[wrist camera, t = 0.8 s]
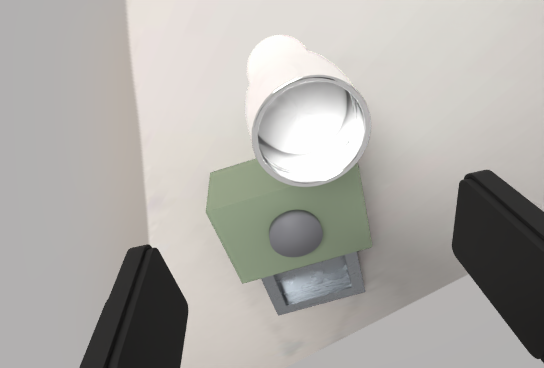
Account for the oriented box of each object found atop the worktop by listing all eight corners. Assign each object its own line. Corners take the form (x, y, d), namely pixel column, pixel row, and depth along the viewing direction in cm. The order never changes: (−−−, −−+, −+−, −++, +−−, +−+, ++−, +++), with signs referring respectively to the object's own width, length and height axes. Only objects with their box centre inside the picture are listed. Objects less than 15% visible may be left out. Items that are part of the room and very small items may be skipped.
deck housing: (337, 133, 35) (362, 171, 28) (352, 210, 40) (376, 257, 33) (210, 172, 36) (204, 218, 29) (242, 242, 41) (244, 294, 34)
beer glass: (287, 10, 28) (331, 38, 15) (331, 75, 31) (397, 142, 19) (225, 64, 30) (219, 129, 17) (273, 120, 33) (297, 210, 20)
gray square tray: (343, 209, 40) (351, 225, 37) (357, 274, 46) (365, 291, 44) (248, 237, 41) (249, 254, 38) (275, 297, 47) (278, 315, 45)
